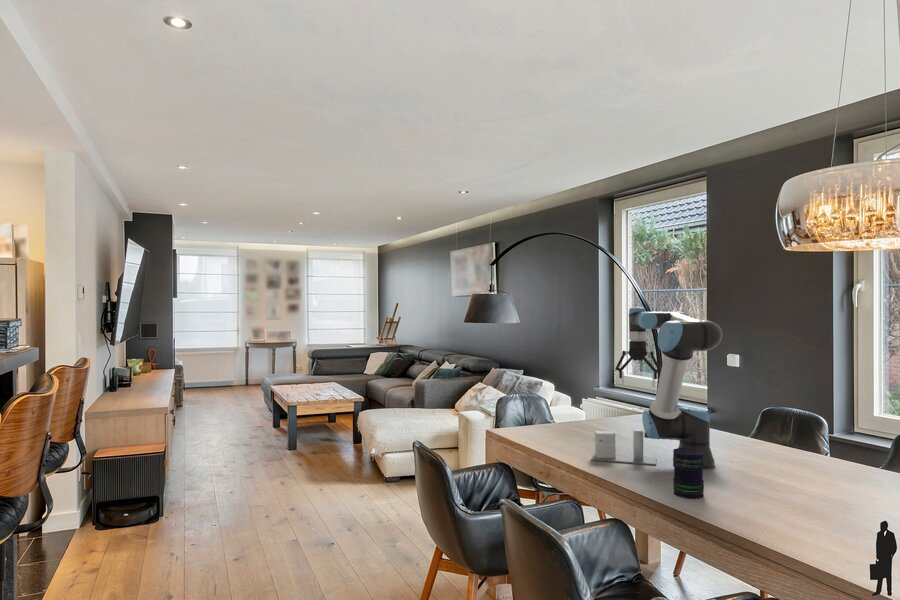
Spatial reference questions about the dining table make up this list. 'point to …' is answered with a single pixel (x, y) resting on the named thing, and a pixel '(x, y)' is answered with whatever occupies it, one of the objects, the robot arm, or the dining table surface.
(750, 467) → the dining table surface
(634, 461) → the base plate with uprights
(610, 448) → the small box
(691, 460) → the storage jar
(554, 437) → the dining table surface
